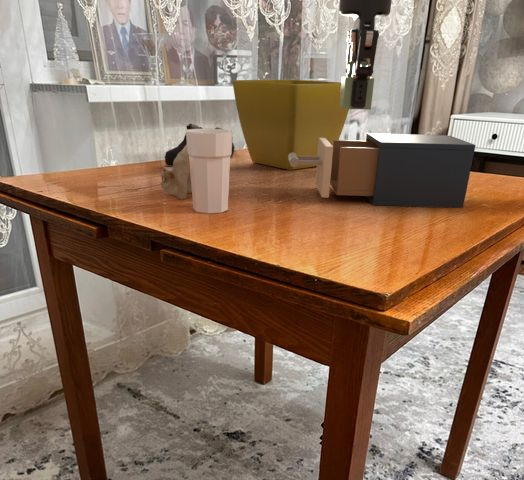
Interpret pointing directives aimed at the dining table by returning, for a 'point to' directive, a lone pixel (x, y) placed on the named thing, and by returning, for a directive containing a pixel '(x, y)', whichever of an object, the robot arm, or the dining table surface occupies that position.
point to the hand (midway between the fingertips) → (355, 106)
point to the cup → (209, 168)
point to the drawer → (343, 166)
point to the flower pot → (288, 118)
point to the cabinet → (421, 170)
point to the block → (347, 91)
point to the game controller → (174, 152)
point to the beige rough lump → (178, 176)
